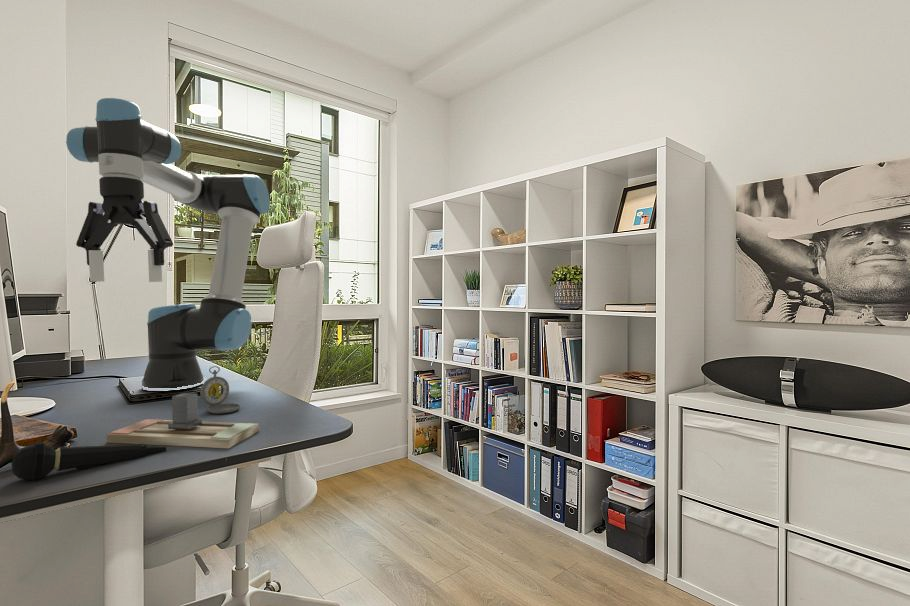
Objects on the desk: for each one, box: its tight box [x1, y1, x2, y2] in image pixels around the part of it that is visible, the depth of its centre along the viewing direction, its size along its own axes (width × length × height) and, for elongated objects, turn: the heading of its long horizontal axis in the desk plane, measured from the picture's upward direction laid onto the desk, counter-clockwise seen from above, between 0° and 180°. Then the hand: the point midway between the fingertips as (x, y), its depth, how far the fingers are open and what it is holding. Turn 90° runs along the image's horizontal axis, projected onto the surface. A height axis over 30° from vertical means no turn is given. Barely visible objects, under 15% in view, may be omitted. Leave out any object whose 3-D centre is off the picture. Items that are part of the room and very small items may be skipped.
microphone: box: [11, 441, 167, 482], centre depth 77 cm, size 6×6×20 cm
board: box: [106, 418, 260, 449], centre depth 92 cm, size 10×24×2 cm, turn 83°
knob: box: [168, 392, 203, 430], centre depth 92 cm, size 4×4×6 cm
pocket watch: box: [199, 365, 241, 415], centre depth 111 cm, size 8×8×10 cm
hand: (126, 281), depth 101 cm, fingers open, 13 cm apart
